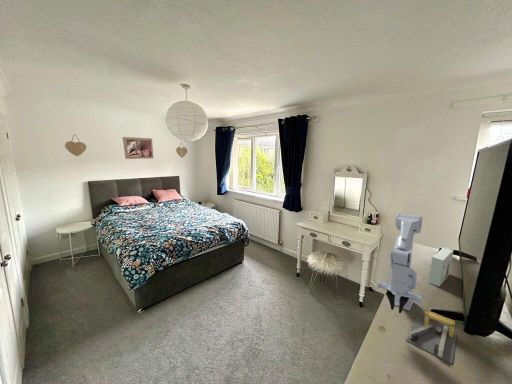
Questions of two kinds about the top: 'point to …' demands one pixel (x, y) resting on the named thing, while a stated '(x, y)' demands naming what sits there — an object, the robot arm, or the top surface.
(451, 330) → the yellow arch block
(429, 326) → the tong arm
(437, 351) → the tongs fixed
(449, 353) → the mat
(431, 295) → the top surface
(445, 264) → the skincare box
